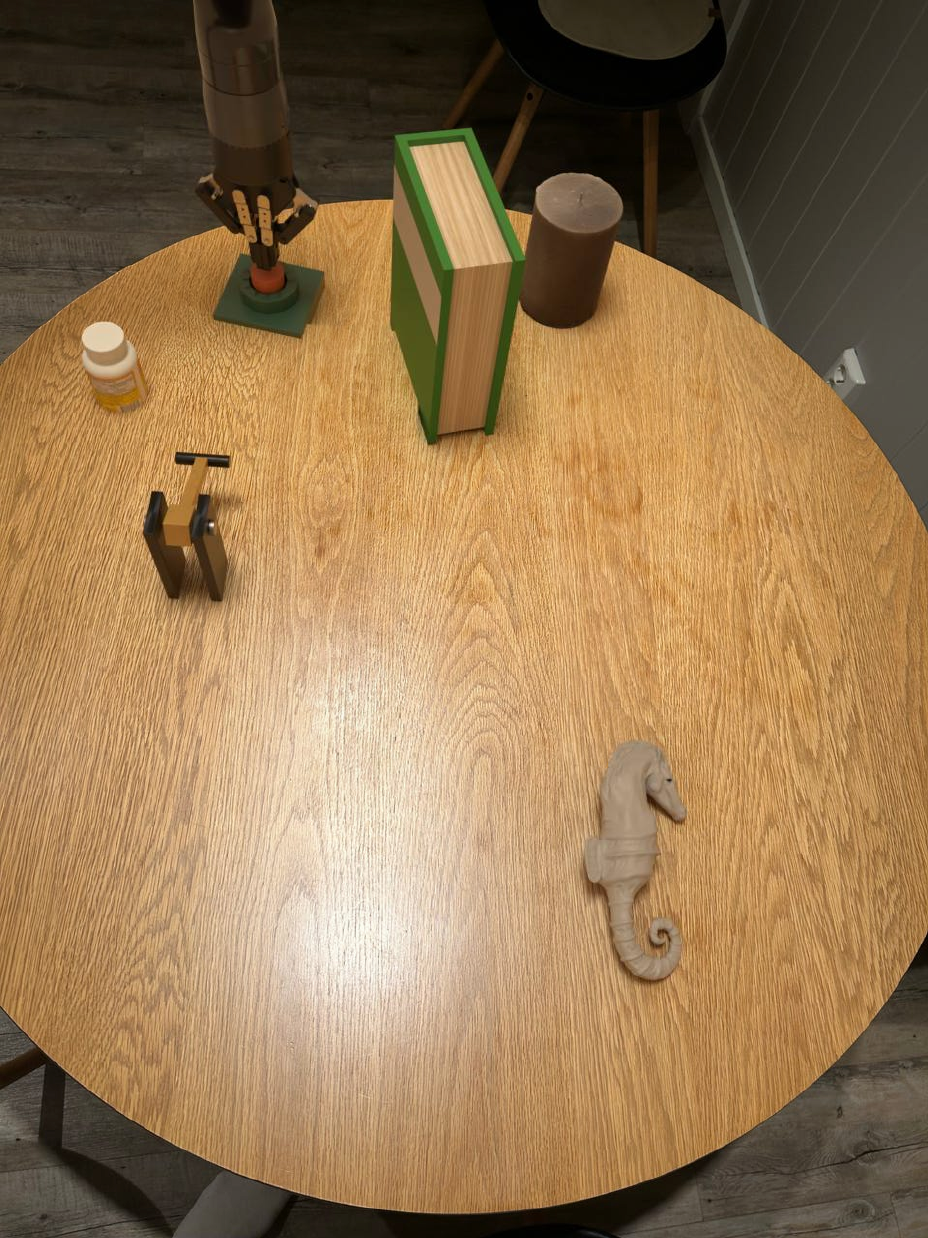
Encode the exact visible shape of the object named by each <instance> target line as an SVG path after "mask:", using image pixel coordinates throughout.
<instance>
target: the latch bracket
mask: <svg viewBox="0 0 928 1238" xmlns="http://www.w3.org/2000/svg"><path fill="white" fill-rule="evenodd" d="M168 508H169V505H168V502H167V499H166V496H165V493H164V491H161V490H160V491H159V490H151V492H150V497H149V501H148V507H147V511H146V514H145V515H144V517H143V522H142V523H143V524H142V525H143V530H142V536H143V538H144V541H145V543H146V545H147V549H148V550H149V554H150V556H151V558H152V561H153V563H154V566H155V569H156V571H157V573H158V575H159V578H160V581H161V583H162V586H163V589H164V591H165V593H166V595H167V598H168V599H173V600H175V599H176V600H179V599H180V595H181V589H182V584H183V579H184V574H185V568H186V564H187V563H186V562H187V558H186V555H185V552H184V549H183V546H171V545H166V541H165V535H164V529H163V521H164V519H165V516H166V513H167V510H168ZM195 508H196V513H195V518H194V523H193V529H192V534H191V538H192V542H193V544H192V546H193V548H194V551H195V554H196V557H197V560H198V563H199V566H200V570H201V572H202V576H203V580H204V582H205V585H206V589H207V593H208V595H209V598H210V602H223V597H224V592H225V584H226V580H227V579H226V578H227V571H228V565H229V561H228V560H229V559H228V556H227V553H226V549H225V546H224V541H223V536H222V534H221V533H222V532H221V529H220V526H219V522H218V518H217V514H216V510H215V506H214V503H213V499H212V495H211V494H207V493H206V494H205V493H200V494H199V496H198V500H197V503H196V506H195Z"/></svg>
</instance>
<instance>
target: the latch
mask: <svg viewBox="0 0 928 1238" xmlns="http://www.w3.org/2000/svg"><path fill="white" fill-rule="evenodd" d="M174 463H175V465H178V466H192V468H191V471H190V474H189V476H188V479H187V481H186V485H185V487H184V491H183V493H182V496H181V498H180V502H179V503H178V504H175V503H169V505H168V510H167V513H166V516H165V519H164V521H163V529H164V535H165V541H166V545H171V546H182V547H189V548H192V547H193V542H192V538H191V534H192V529H193V523H194V518H195V513H196V507H197V502H198V496H199V494H201V491H202V488H203V485H204V482H205V480H206V476H207V473H208V470H209V468H220V469H230V468H231V465H232V457H231V455H229V454H217V453H215V454H214V453H201V452H187V451H175V454H174Z"/></svg>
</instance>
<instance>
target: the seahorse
mask: <svg viewBox="0 0 928 1238" xmlns="http://www.w3.org/2000/svg"><path fill="white" fill-rule="evenodd" d="M676 784H677V783H676V780H675V778H674V777H673V773H672V770H671V767H670V764H669V759H668V758H667V756H665V754H664V752H663V750H662V748H661V747H660V745H657V746H656V745H655V743H654V742H651V741H647V740H645V739H643V740H642V739H634V740H629V741H625V742H623V743H622V742H621V743H620V744H619V745H618V746H617V747H616V748H615V749H614V750H613V752H612V753H611V755H610V758H609V760H608V763H607V768H606V769H605V772H604V774H603V778H602V780H601V784H600V788H599V798H600V806H601V826H600V827H601V828H600V832H599V835H598V838H597V837H595V836H593V835H589V836H588V837H587V838H586V839H585V843H584V846H583V847H584V848H583V860H584V866H585V870H586V874H587V877H588V880H589V882H591V883H593V884H599V885H601V886H602V887H603V889H604V890H605V893H606V896H607V901H608V903H607V906H608V907H609V912H610V913H609V914H610V923H609V926H610V928H611V930H612V933H613V934H612V935H613V939H612V942H613V944H614V946H615V949H616V952H617V953H618V955H619V957H620V958H619V960H620V962H621V963H622V962H623V963H624V965H625V967H626V968H627V969H628V970H630V971H631V973H632V975H633V976H635V977H640V978H642V979H645V980H650V981H651V980H652V981H656V980H659V979H661V980H662V979H665V978H667V977H668V976H669V975H671V973H672V972H673V971H675V969H676V968H677V966H678V964H679V961H680V960H681V958H682V946H683V942H682V938H681V936H680V930H679V928H678V927H677V926H676V925H675V924H674V922H673V921H672V920H671V919H670V918H666V917H659V916H657V917H654V918H653V920H652V922H651V926H650V927H649V929H648V934H649V939H650V940H651V942H652V943H653V944H655V945H663V944H665V942H666V940H667V938H666V937H662V938H659V937H658V933H659V931H662V930H664V931H666V932H667V936H668V938H669V939H670V942H669V944H668V946H669V948H668V951H667V952H666V953H665V955H664V956H661V957H659V956H653V957H652V956H651V955H647V954H646V953H645V951H644V950H643V949H642V948H641V947H640V945H639V944H638V941H637V937H638V935H637V934H636V933H635V927H634V919H633V916H632V915H633V914H632V909H633V905H634V903H635V896H636V894H637V893H638V892H639V890H640V889H642V887H643V886H644V885H645V884H647V882H649V880H650V878H652V877H653V875H654V872H655V871H654V864H655V861H656V859H657V857H658V856H661V854H662V852H661V851H660V849H659V845H658V844H659V843H658V841H657V834H658V831H659V827H658V826H657V817H656V815H655V813H654V812H653V810H651V808H650V807H649V804H648V797H647V796H650V797H651V798H653V799H654V801H655V802H656V803H657V804H658V805H659V806H660V807H661V808H663V809H664V810H665V811H666V812H667V814H669V815H670V816H671V818H672V819H673V820H674V821H677V822H682V821H684V820H685V819H686V818H687V814H688V808H687V807H686V805H684V804H683V801H682V799H681V796H680V795H679V791H678V790H677V785H676Z"/></svg>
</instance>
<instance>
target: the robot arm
mask: <svg viewBox="0 0 928 1238" xmlns="http://www.w3.org/2000/svg"><path fill="white" fill-rule="evenodd" d="M192 1H193V2H192V3H193V14H194V16H193V17H194V28H195V29H194V31H195V38H196V47H197V52H198V56H199V57H198V58H199V64H200V70H201V75H202V96H203V104H204V110H205V116H206V121H207V129H208V134H209V139H210V146H211V151H212V158H213V163H214V167H213V169H212V173H211V172H208V171H204V172H203V173H202V174H201V177H200V179H199V181H198V183H197V185H196V187H195V189H194V193H195V195H196V196H197V197H198V198H199V199H200V200H201V201H202V203H203V204H205V206H206V207H207V208H208V209H209V210H210V211H211V213H212V214H213V215H214V216H215V217H216V218H217V219H218V220H219V221H220V222H221V223H222V224H223V226H224V227H225V228H226V229H227V230H228V231H229V232H230V233H231V234H233V235H238V234H240V235H243V236H245V238H246V240H247V241H248V247H249V255H250V256H251V260H252V261H253V263H256V265H257V269H262V270H267V271H271V269H272V267H275V266H276V264H277V261H279V259H280V256H281V251H280V250H281V249H280V244H281V245H283V246H287V245H289V244H290V243H291V242H292V241H293V240H294V239H295V238H296V237H297V236H298V235H299V234H300V233H301V232H302V231H303V230H304V229H306V227H308V225H310V224H311V223H312V222H313V221H314V220H315V217H316V215H317V212H318V211H319V207H320V205H321V199H320V197H319V196H318V195H315V194H311V195H309V196H308V194H306V193H305V192H304V191H303V190H302V189H300V182H299V179H298V177H297V175H296V174H295V172H294V161H293V159H294V158H293V149H292V136H291V126H290V124H291V123H290V120H291V111H290V107H289V102H288V101H289V100H288V93H287V88H286V83H285V80H284V75H283V68H282V55H281V45H280V44H281V43H280V33H279V27H278V21H277V17H276V13H275V10H274V5H273V2H272V0H192ZM292 202H293V204H294V205H293V206H292V211H293V212H292V213H291V214H290V215H289V216H288V217H287V218H286V219H285V220H284V221H283V222H280V214H281V213H282V212H283V211H284V210H285V209H286V208H287V207H288V206H289V205H290V203H292Z"/></svg>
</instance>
